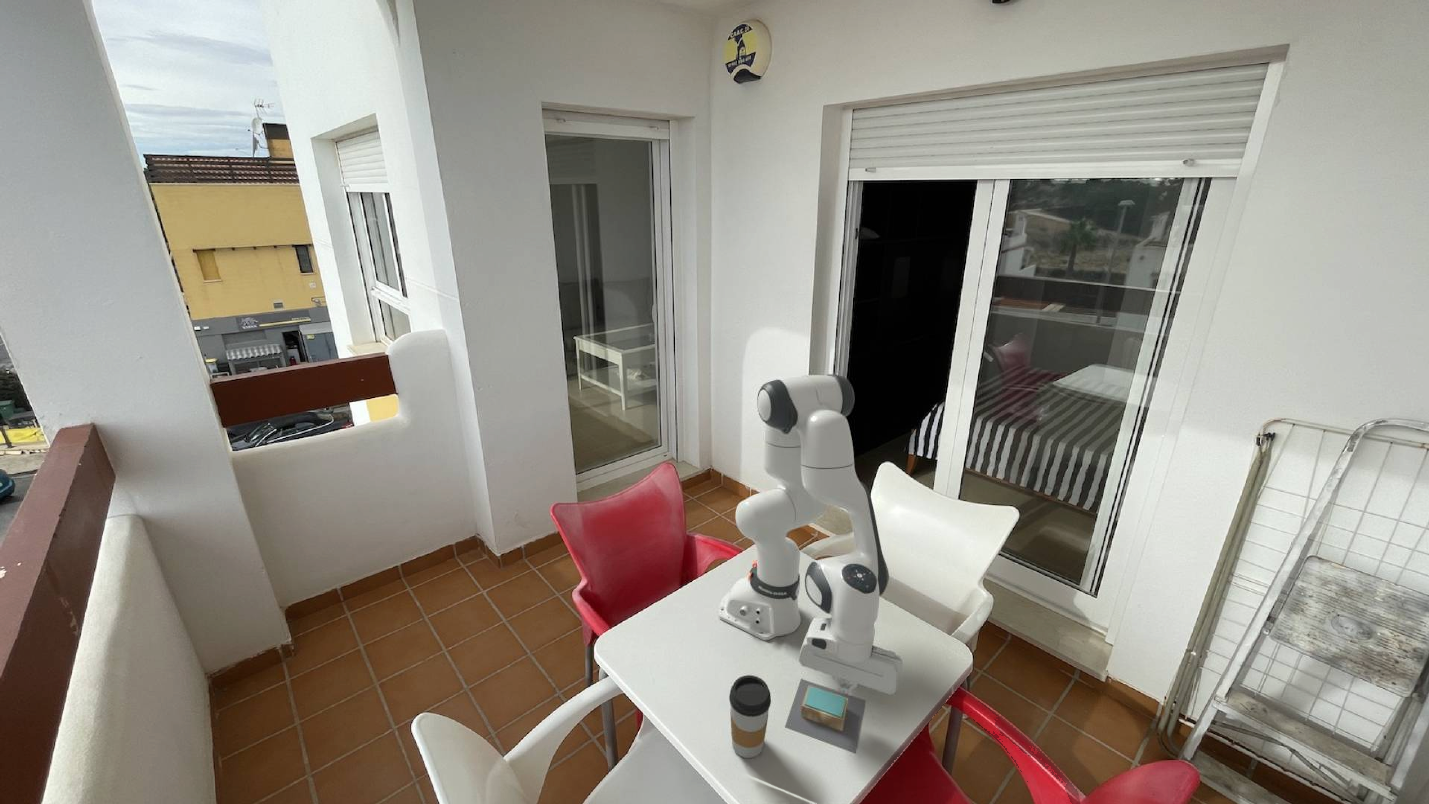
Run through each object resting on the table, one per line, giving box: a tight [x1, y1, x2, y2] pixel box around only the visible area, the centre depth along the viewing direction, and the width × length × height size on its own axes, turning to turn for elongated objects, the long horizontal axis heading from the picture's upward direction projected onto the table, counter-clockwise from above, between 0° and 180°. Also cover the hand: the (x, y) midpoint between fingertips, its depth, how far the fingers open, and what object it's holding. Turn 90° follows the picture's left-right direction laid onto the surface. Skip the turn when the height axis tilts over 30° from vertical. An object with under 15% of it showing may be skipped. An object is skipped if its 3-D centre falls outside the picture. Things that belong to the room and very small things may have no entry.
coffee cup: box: [728, 674, 772, 759], centre depth 110 cm, size 8×8×15 cm
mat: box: [784, 678, 866, 754], centre depth 120 cm, size 15×14×1 cm
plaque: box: [801, 685, 848, 731], centre depth 119 cm, size 3×6×9 cm
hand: (843, 691), depth 116 cm, fingers closed
